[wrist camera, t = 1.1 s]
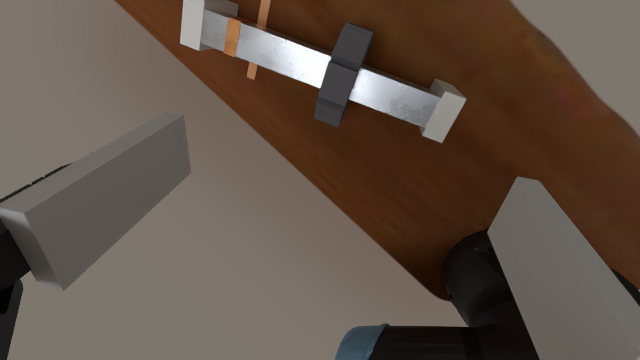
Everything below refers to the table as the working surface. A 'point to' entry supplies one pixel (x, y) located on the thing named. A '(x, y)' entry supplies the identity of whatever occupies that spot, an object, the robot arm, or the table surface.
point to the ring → (342, 73)
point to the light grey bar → (315, 66)
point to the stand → (191, 37)
